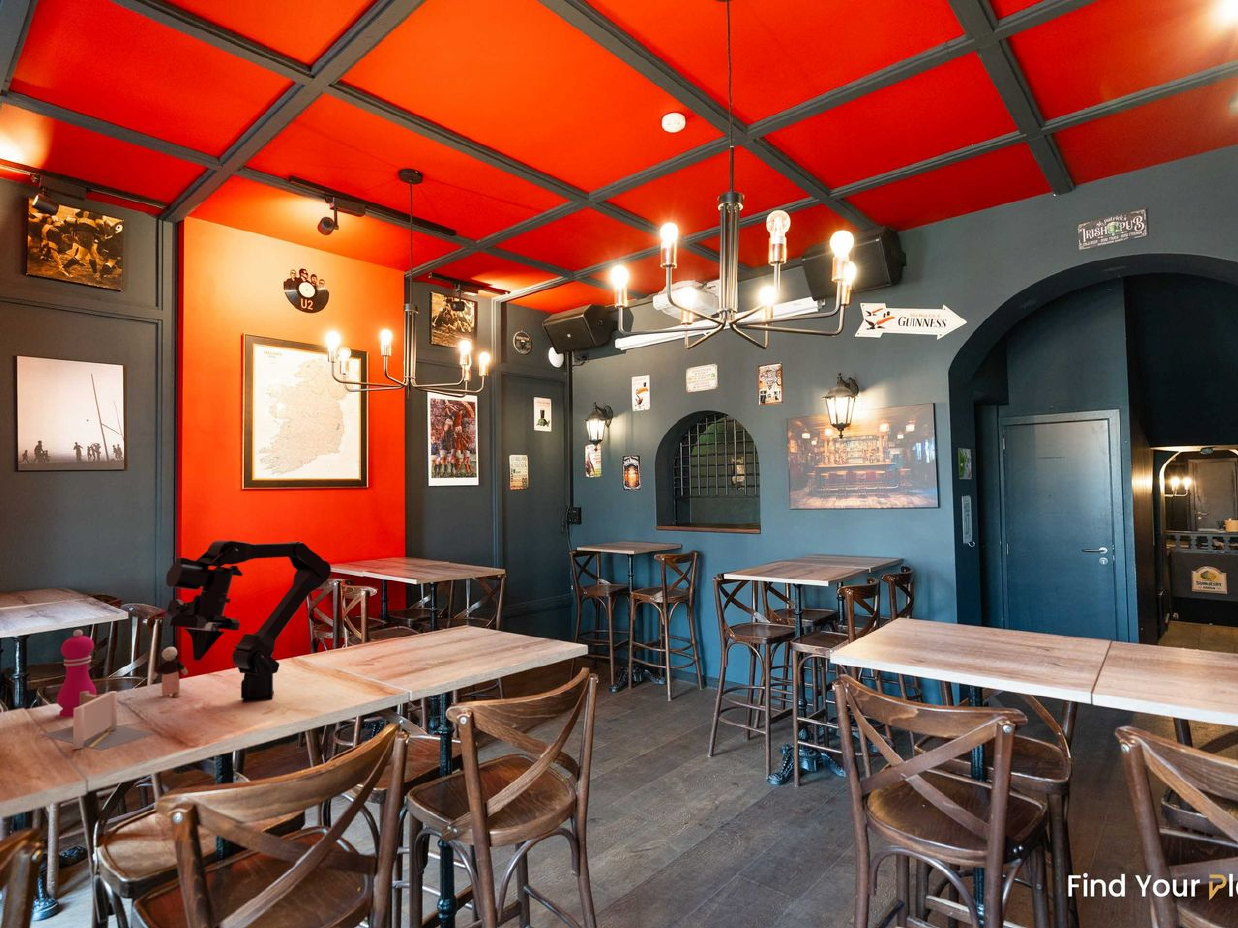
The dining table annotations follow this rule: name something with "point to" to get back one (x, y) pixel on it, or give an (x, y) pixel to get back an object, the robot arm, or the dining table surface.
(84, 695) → the board
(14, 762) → the dining table surface
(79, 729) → the fence gate
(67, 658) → the pepper mill
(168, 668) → the grandmother figurine
